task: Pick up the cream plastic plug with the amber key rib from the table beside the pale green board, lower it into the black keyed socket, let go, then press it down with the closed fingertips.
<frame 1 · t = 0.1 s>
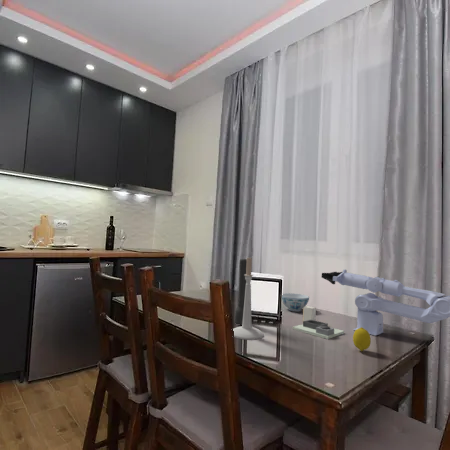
hand: (326, 274, 146), 22 cm above the table, tool horizontal, fingers open, 7 cm apart
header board: (318, 331, 128), on the table
flashlight: (242, 324, 135), on the table
candlestick: (246, 335, 119), on the table
chinaware: (294, 310, 167), on the table
plug: (309, 322, 141), on the table
lemon: (361, 351, 105), on the table
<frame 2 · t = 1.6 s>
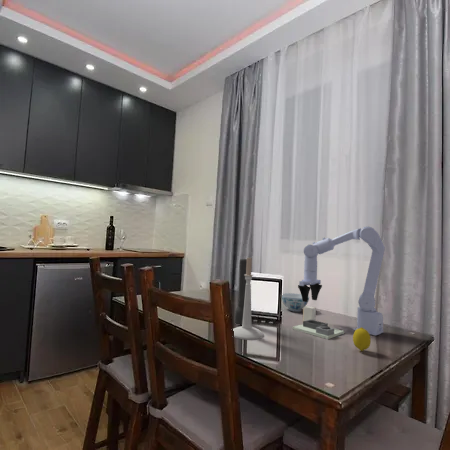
hand: (309, 300, 142), 10 cm above the table, tool pointing down, fingers open, 7 cm apart
nothing on the table moved.
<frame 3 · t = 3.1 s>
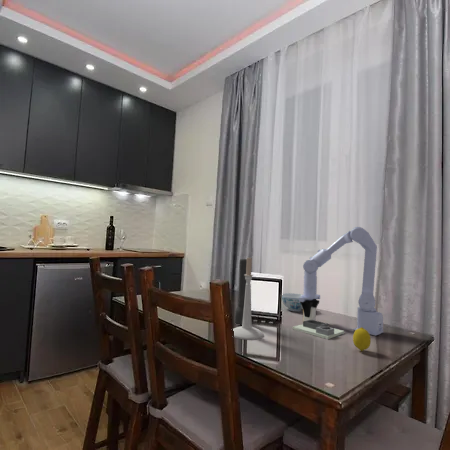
hand: (309, 316, 141), 3 cm above the table, tool pointing down, fingers closed on plug, 3 cm apart
plug: (309, 322, 141), on the table, touching gripper
everything else where it was.
when the fingers open (4 cm above the table, at t = 6.4 s): plug stays where it is, resting on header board.
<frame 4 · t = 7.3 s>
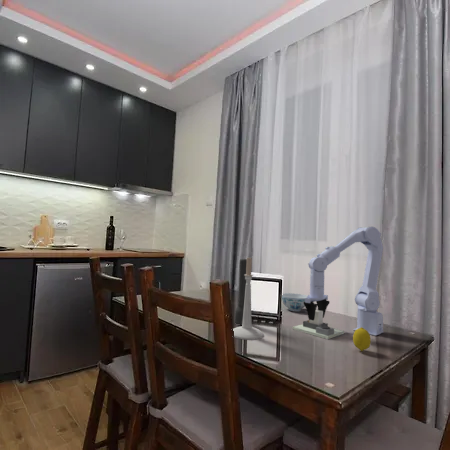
hand: (316, 318, 130), 5 cm above the table, tool pointing down, fingers open, 7 cm apart
plug: (315, 327, 130), point 1 cm above the table, touching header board
everything else where it was.
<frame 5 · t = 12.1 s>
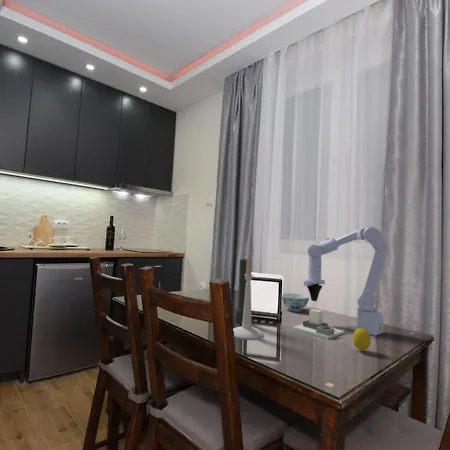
hand: (314, 300, 142), 10 cm above the table, tool pointing down, fingers closed
nothing on the table moved.
at the end: plug 0.1 cm from the target spot on the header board, point 1.0 cm above the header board's base; plug tilted 0°; the gripper is holding nothing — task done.
